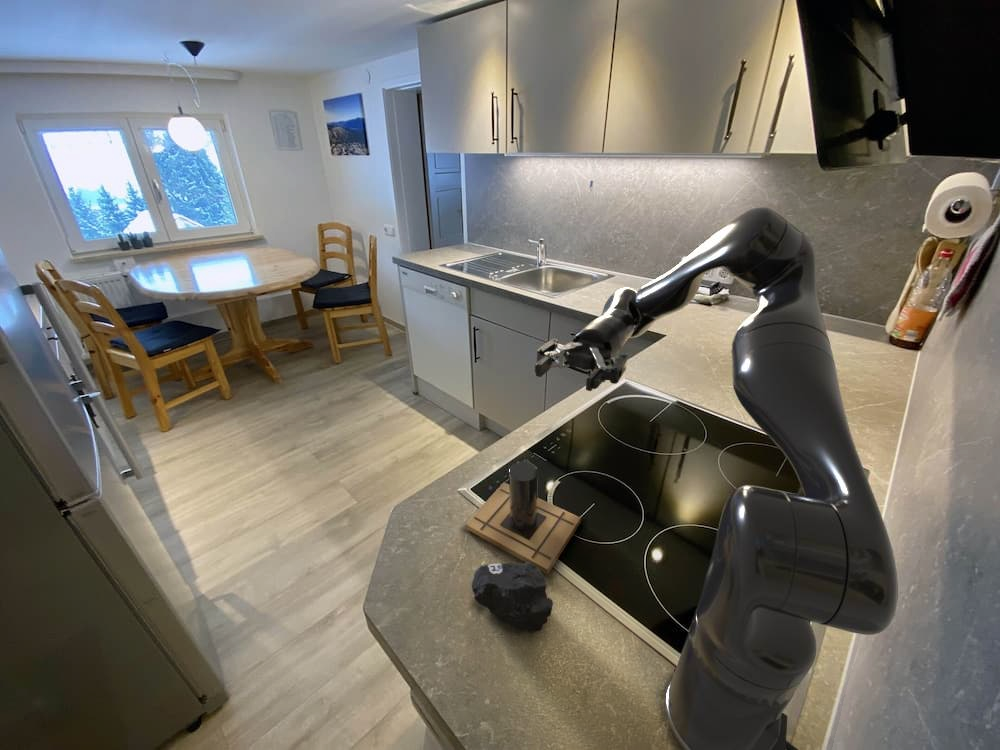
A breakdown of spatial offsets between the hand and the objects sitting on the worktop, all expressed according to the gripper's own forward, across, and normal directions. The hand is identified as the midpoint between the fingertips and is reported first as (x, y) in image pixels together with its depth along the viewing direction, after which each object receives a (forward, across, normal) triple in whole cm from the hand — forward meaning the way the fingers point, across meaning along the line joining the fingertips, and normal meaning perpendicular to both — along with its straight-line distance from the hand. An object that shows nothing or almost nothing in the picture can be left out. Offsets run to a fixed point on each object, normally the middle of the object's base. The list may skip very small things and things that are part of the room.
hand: (562, 378), depth 64 cm
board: (+8, -2, +26) cm, 27 cm away
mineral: (+20, +4, +26) cm, 33 cm away
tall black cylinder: (+8, -2, +25) cm, 26 cm away
